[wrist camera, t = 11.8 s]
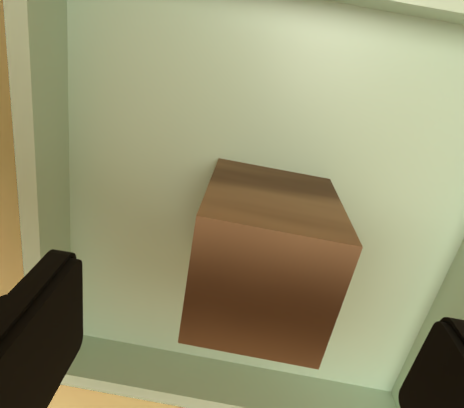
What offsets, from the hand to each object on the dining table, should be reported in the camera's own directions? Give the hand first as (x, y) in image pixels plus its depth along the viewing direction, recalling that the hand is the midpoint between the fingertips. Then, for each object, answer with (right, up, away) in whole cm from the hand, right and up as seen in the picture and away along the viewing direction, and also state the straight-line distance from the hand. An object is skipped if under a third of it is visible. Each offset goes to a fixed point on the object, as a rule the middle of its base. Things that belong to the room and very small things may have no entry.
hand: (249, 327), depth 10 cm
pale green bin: (+1, +3, +8) cm, 9 cm away
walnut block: (+1, +3, +8) cm, 8 cm away
